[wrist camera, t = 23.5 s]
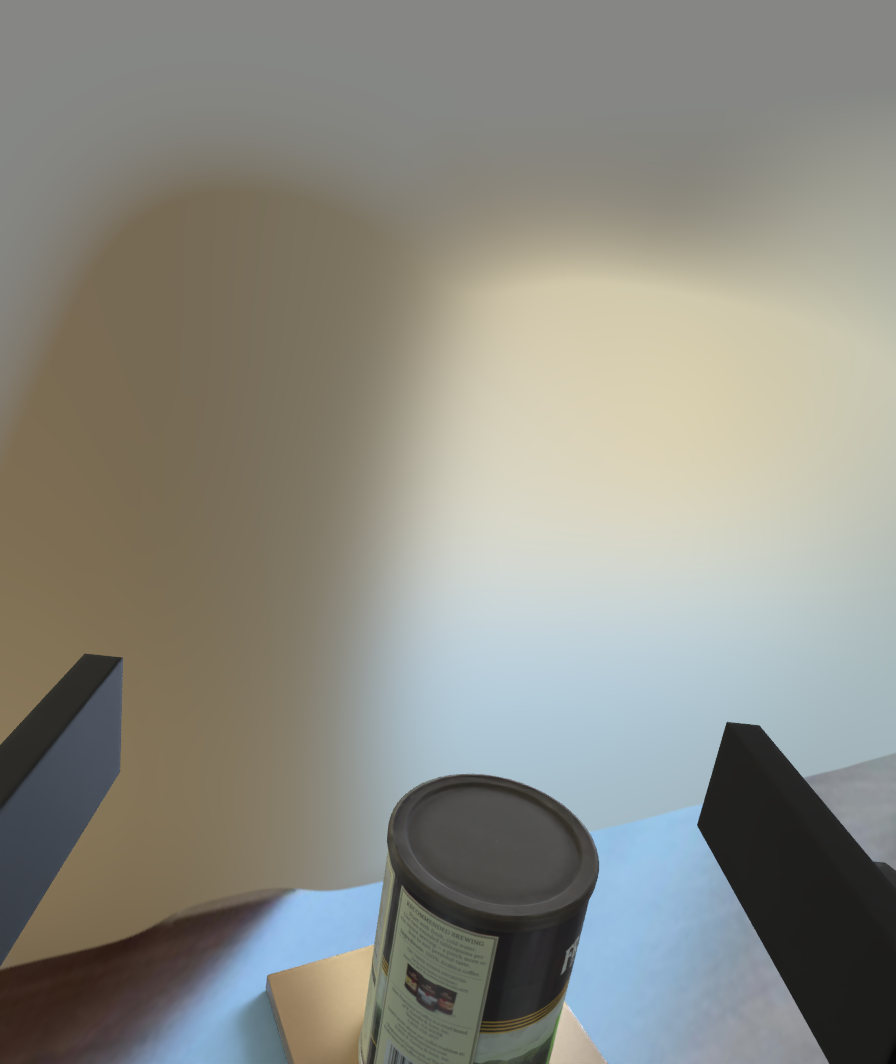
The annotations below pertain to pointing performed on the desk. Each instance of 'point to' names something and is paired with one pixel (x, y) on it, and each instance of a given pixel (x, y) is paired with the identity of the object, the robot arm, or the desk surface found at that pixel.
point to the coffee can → (476, 924)
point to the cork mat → (338, 1012)
